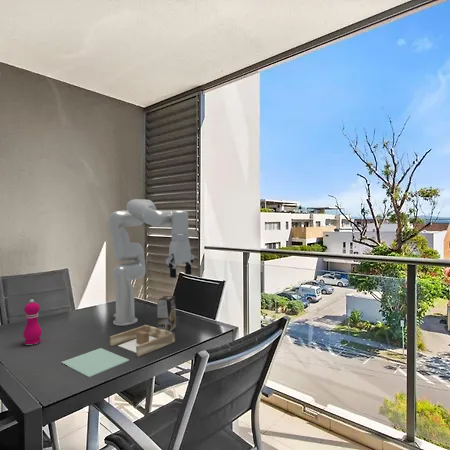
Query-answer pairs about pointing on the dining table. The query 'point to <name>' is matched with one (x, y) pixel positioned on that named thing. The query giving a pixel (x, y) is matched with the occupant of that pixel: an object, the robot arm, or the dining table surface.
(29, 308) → the pepper mill
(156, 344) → the open-sided wooden frame
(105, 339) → the dining table surface
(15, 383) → the dining table surface
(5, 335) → the dining table surface
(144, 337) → the cover plate
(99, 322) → the dining table surface
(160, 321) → the coffee box
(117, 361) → the sage mat
